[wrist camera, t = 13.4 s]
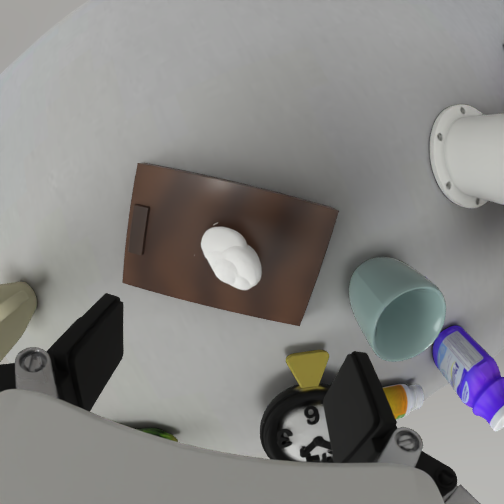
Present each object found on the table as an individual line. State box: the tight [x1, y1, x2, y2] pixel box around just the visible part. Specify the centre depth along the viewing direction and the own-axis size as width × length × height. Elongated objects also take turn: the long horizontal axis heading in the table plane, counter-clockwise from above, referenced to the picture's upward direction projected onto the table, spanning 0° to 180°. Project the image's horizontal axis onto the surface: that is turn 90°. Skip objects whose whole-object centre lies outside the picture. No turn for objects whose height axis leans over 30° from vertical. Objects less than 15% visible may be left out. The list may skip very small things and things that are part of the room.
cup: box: [349, 257, 446, 362], centre depth 26 cm, size 8×8×10 cm
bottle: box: [433, 325, 504, 431], centre depth 25 cm, size 7×6×17 cm
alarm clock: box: [260, 350, 334, 463], centre depth 30 cm, size 12×15×15 cm
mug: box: [0, 282, 37, 362], centre depth 26 cm, size 11×10×12 cm
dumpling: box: [194, 223, 262, 290], centre depth 26 cm, size 7×5×4 cm
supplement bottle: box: [382, 384, 424, 419], centre depth 33 cm, size 5×5×10 cm
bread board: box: [123, 163, 339, 326], centre depth 28 cm, size 20×13×2 cm, turn 76°
